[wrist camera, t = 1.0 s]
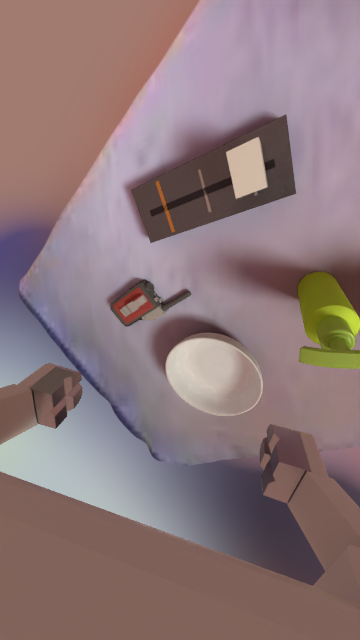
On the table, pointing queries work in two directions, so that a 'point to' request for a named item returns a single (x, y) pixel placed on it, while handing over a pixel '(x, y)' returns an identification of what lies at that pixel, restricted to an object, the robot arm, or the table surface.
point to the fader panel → (214, 185)
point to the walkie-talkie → (142, 304)
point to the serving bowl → (214, 374)
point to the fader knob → (247, 168)
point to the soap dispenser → (328, 323)
